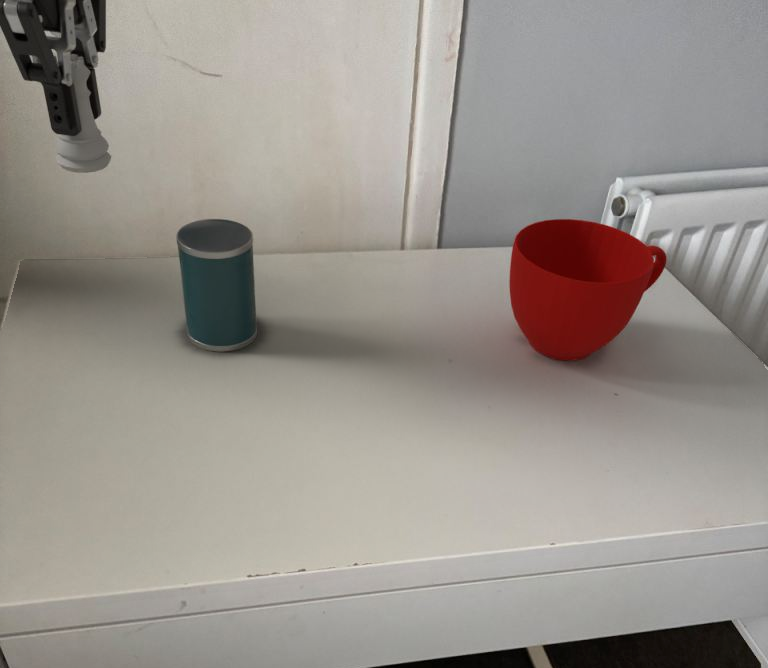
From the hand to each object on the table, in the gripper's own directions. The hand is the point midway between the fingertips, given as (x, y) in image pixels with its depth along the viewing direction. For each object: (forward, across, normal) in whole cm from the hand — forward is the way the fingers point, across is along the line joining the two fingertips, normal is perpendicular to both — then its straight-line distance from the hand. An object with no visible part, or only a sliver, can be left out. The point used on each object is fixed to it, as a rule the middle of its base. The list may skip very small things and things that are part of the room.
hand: (77, 124), depth 67 cm
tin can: (+19, -2, +10) cm, 22 cm away
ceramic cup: (+19, -10, +45) cm, 50 cm away
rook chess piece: (+3, 0, 0) cm, 3 cm away
